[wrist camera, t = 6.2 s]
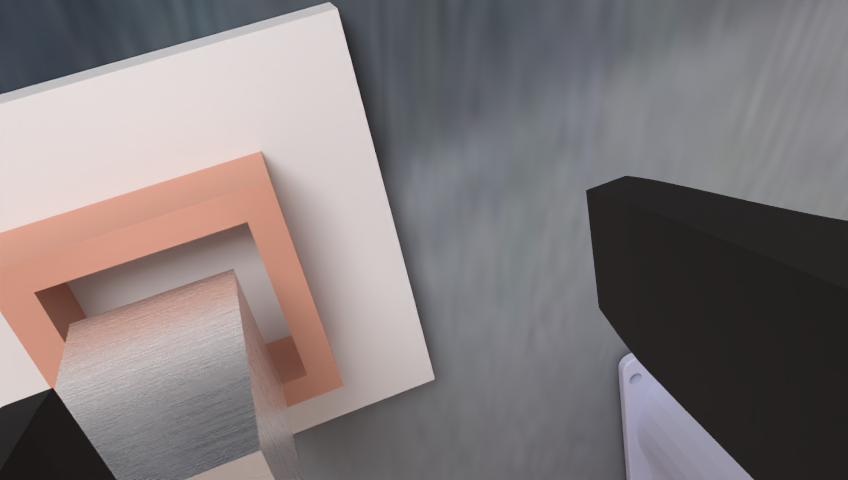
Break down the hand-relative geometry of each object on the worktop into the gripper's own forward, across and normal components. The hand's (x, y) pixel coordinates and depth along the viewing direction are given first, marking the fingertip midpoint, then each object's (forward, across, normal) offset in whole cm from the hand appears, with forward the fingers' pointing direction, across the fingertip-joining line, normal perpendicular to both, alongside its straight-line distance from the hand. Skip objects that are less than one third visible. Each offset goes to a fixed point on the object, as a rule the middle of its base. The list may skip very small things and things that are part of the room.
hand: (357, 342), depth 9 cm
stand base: (+10, +4, +4) cm, 12 cm away
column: (+7, +4, +4) cm, 8 cm away
